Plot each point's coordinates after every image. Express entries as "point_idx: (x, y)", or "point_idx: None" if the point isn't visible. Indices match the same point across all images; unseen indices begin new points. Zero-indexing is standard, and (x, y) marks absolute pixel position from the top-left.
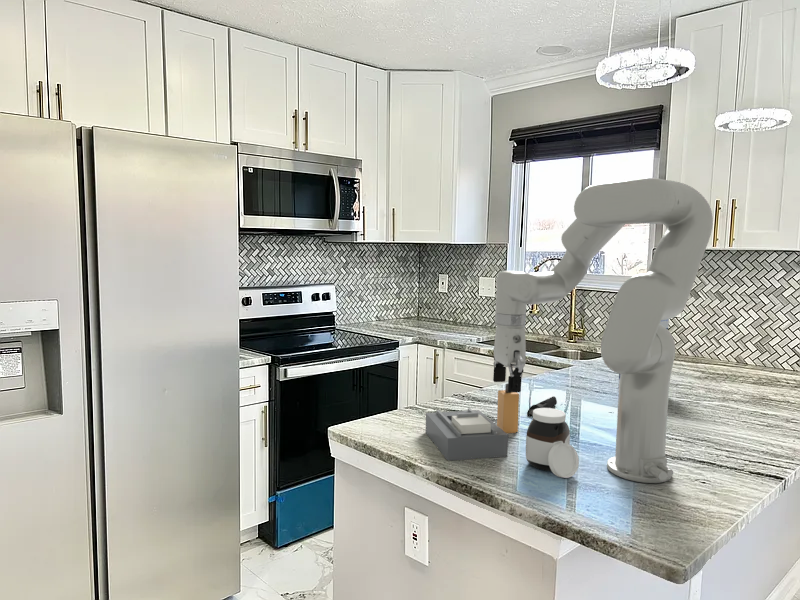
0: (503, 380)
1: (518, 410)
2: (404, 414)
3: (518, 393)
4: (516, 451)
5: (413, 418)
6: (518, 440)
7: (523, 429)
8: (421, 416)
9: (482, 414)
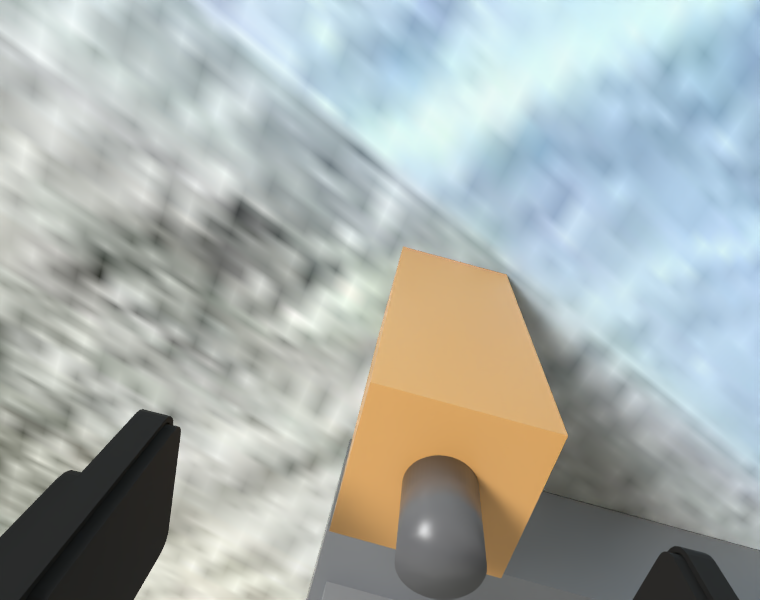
0: (170, 450)
1: (531, 340)
2: None
3: (550, 431)
4: (750, 478)
5: None
6: (624, 362)
7: (472, 195)
8: None
9: None
